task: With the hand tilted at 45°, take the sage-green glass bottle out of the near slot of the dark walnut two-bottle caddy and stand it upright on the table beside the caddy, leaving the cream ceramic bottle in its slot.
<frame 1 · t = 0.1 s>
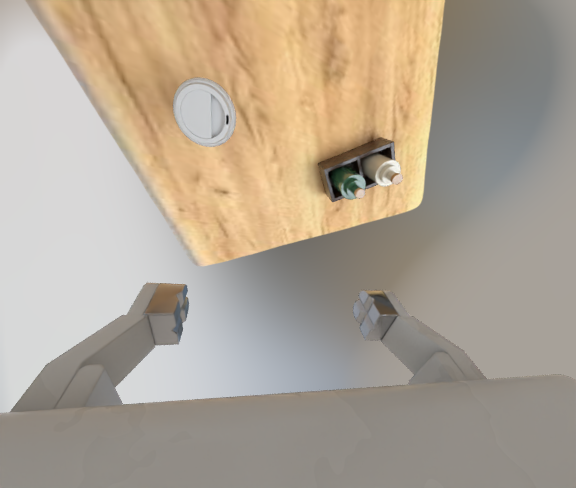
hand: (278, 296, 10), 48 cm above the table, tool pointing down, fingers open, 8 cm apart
green bottle: (338, 173, 56), point 1 cm above the table, touching caddy
caddy: (352, 167, 57), on the table
coffee cup: (216, 110, 46), on the table
cream bottle: (368, 162, 56), point 1 cm above the table, touching caddy
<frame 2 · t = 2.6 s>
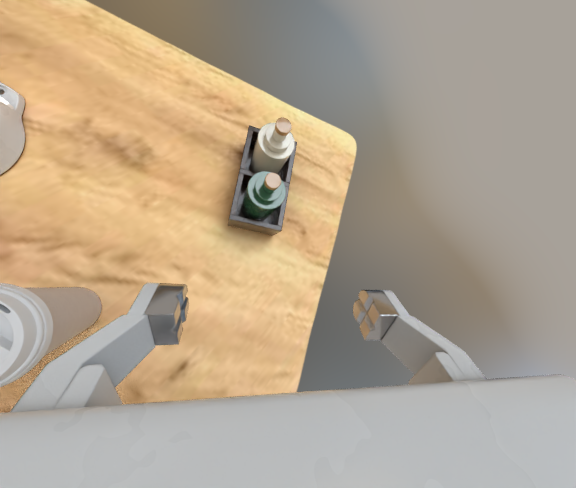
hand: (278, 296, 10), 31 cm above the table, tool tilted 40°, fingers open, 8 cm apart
green bottle: (256, 207, 41), point 1 cm above the table, touching caddy
caddy: (259, 189, 42), on the table
coffee cup: (75, 309, 32), on the table
cream bottle: (263, 168, 42), point 1 cm above the table, touching caddy
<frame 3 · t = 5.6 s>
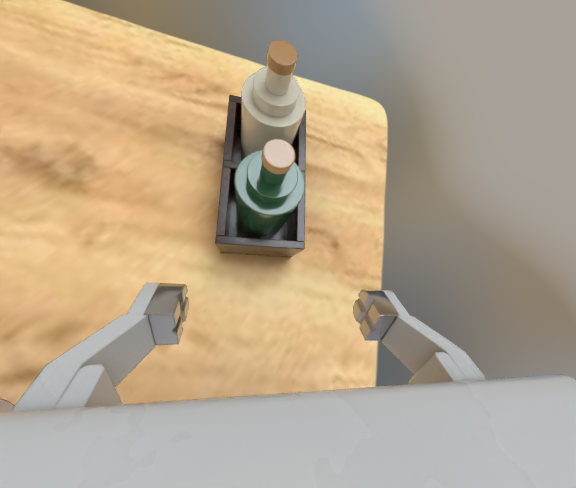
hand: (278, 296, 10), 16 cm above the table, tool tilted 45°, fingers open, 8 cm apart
green bottle: (259, 219, 27), point 1 cm above the table, touching caddy
caddy: (260, 192, 28), on the table
cream bottle: (262, 161, 29), point 1 cm above the table, touching caddy
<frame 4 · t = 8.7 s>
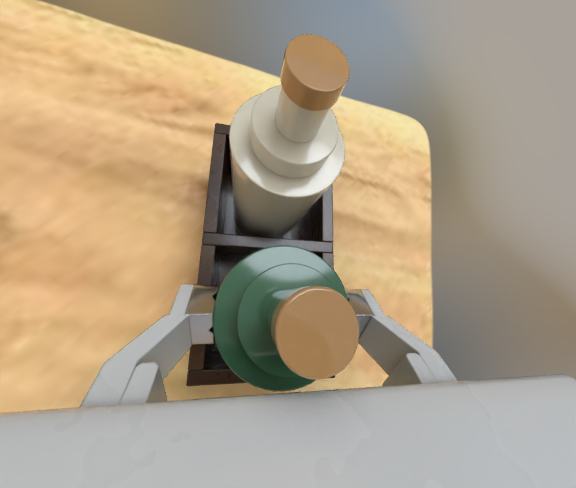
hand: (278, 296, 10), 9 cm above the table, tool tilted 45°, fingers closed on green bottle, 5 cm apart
green bottle: (261, 300, 18), point 1 cm above the table, touching caddy, gripper
caddy: (262, 255, 20), on the table
cream bottle: (265, 212, 20), point 1 cm above the table, touching caddy
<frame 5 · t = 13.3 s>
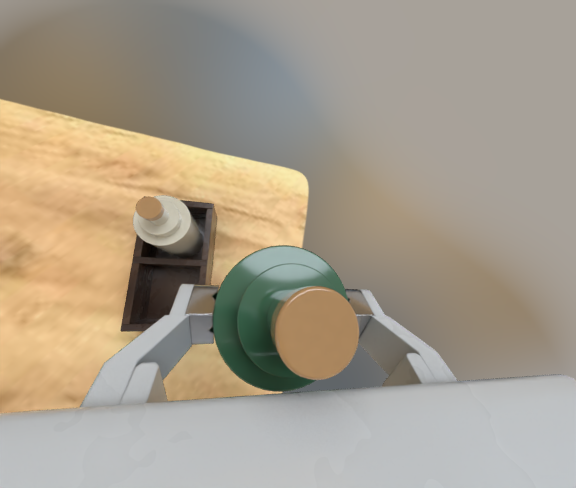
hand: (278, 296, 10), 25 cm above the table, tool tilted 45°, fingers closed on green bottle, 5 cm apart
green bottle: (261, 300, 18), point 17 cm above the table, touching gripper
caddy: (182, 266, 33), on the table
cream bottle: (184, 239, 33), point 1 cm above the table, touching caddy
when the fingers open (8 cm above the table, at t = 18.4 s): green bottle stays where it is, on the table.
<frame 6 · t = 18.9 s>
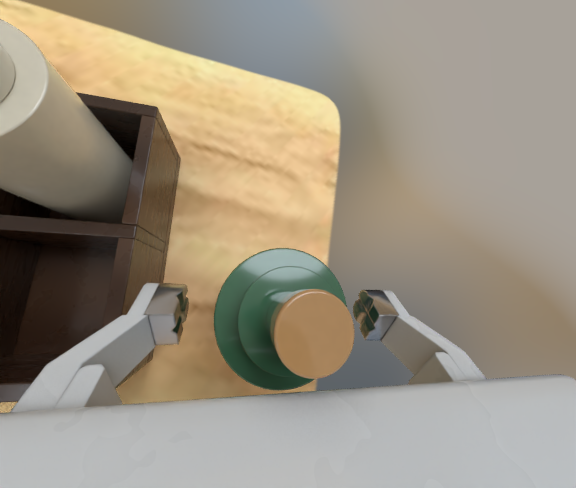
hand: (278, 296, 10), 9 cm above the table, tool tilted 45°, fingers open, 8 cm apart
green bottle: (261, 301, 19), on the table
caddy: (107, 245, 17), on the table
cream bottle: (110, 194, 17), point 1 cm above the table, touching caddy
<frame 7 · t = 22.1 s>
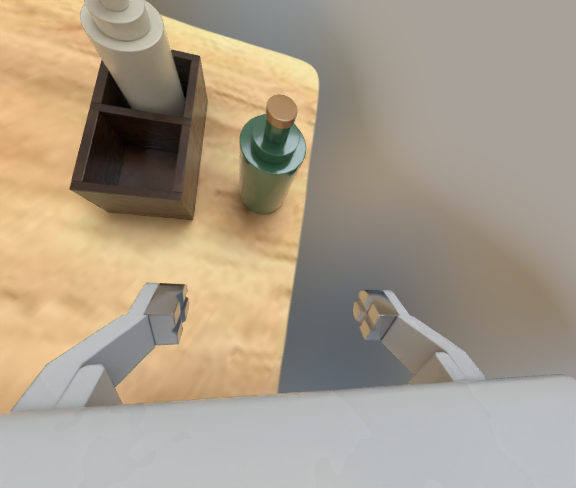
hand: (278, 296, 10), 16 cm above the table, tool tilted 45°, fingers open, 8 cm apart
green bottle: (262, 193, 28), on the table
caddy: (163, 151, 26), on the table
cream bottle: (165, 118, 26), point 1 cm above the table, touching caddy
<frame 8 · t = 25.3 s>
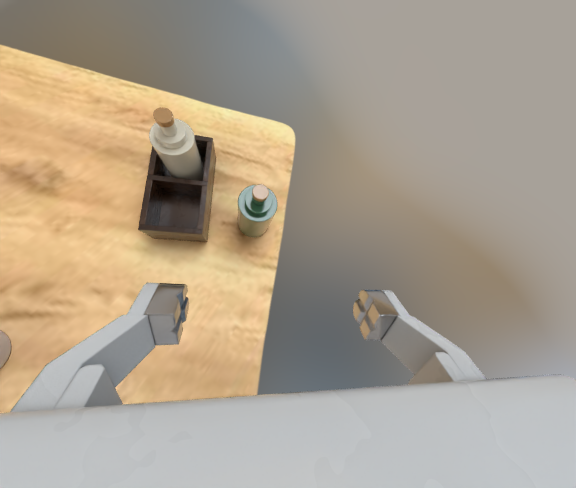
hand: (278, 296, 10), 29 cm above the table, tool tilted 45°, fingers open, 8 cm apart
green bottle: (253, 222, 41), on the table
caddy: (186, 195, 39), on the table
cream bottle: (188, 173, 39), point 1 cm above the table, touching caddy
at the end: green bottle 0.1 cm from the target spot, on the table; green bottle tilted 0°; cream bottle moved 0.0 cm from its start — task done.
